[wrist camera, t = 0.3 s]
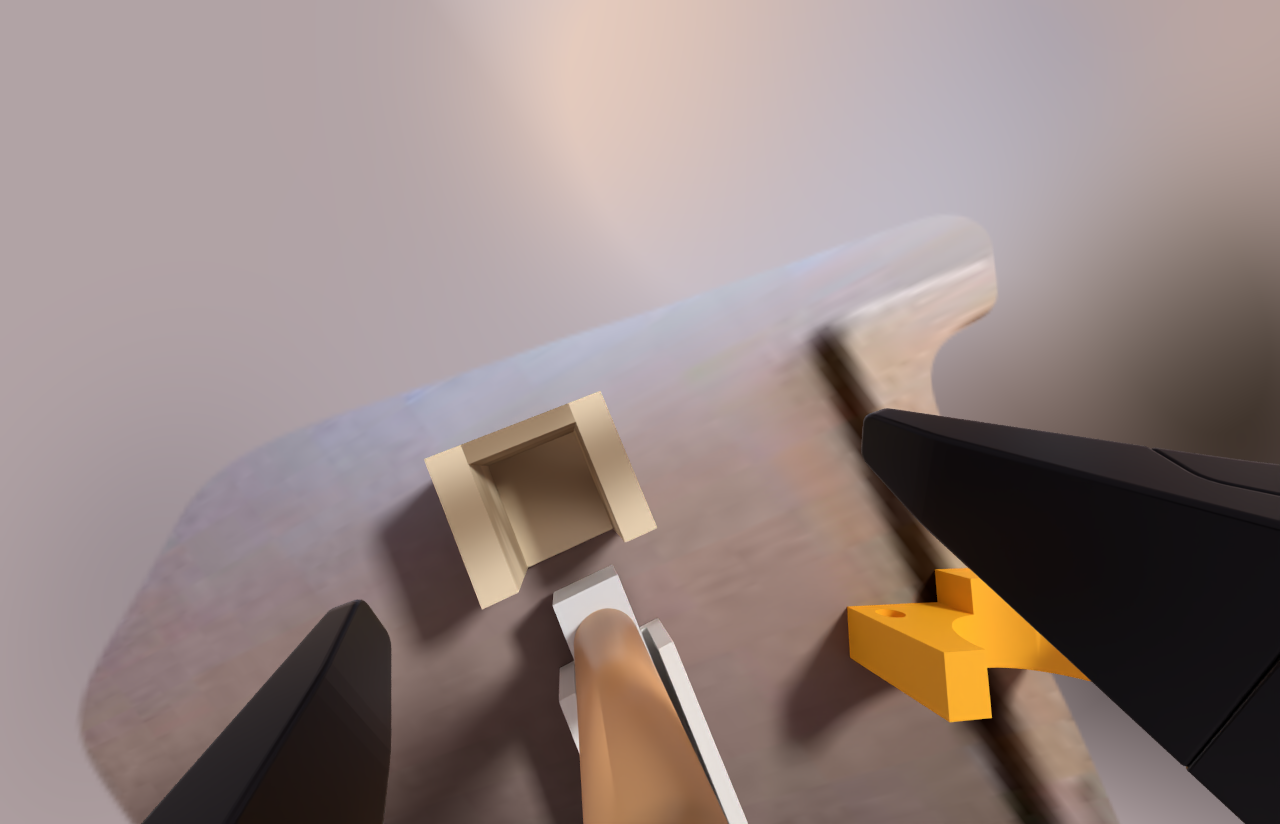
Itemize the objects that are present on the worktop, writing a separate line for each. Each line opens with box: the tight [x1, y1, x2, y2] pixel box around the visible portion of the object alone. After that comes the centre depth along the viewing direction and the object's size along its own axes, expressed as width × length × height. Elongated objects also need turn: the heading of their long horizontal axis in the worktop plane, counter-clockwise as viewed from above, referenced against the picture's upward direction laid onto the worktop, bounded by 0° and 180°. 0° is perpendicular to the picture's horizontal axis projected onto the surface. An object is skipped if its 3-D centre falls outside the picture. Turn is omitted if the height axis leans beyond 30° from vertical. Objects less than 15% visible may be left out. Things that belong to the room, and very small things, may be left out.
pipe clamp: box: [847, 568, 1092, 722], centre depth 22 cm, size 12×4×6 cm, turn 90°
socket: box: [424, 391, 657, 609], centre depth 20 cm, size 6×7×5 cm
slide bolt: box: [552, 565, 728, 824], centre depth 14 cm, size 12×3×14 cm, turn 23°
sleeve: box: [559, 618, 748, 824], centre depth 20 cm, size 12×5×3 cm, turn 23°
